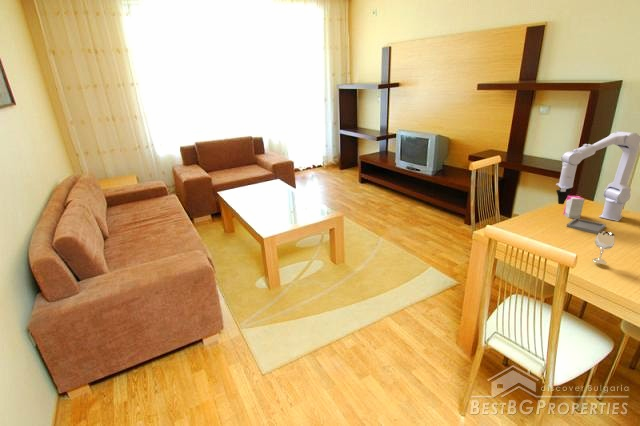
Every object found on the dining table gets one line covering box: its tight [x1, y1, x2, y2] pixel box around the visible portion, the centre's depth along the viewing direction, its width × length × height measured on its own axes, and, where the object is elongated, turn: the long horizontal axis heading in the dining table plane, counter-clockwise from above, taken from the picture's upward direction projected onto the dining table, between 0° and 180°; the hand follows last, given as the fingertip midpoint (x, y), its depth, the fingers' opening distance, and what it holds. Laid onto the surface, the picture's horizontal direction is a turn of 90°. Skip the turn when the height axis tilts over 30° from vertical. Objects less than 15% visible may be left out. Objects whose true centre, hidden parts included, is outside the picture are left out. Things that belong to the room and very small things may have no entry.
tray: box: [566, 218, 607, 235], centre depth 167 cm, size 13×13×2 cm
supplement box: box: [563, 195, 585, 219], centre depth 178 cm, size 6×6×12 cm
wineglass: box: [592, 230, 616, 265], centre depth 133 cm, size 6×6×12 cm
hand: (561, 202), depth 172 cm, fingers open, 7 cm apart
